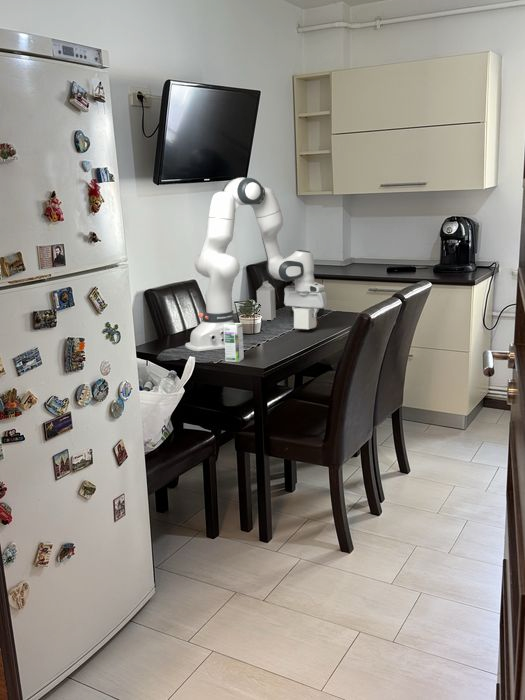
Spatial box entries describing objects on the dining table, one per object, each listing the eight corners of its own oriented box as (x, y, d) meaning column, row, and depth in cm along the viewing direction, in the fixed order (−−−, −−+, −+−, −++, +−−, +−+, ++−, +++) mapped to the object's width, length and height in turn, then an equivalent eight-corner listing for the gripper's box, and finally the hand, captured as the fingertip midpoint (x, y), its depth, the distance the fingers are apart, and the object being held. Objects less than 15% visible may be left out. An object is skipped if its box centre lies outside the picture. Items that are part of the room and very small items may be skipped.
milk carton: (257, 320, 335) (256, 282, 331) (262, 317, 342) (261, 280, 337) (271, 321, 333) (269, 282, 328) (275, 318, 339) (274, 280, 335)
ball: (312, 314, 311) (317, 318, 315) (303, 319, 312) (307, 322, 316) (315, 323, 308) (320, 327, 313) (306, 328, 310) (310, 331, 314)
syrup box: (225, 361, 262) (222, 325, 259) (231, 357, 268) (229, 321, 264) (238, 362, 260) (236, 325, 257) (244, 358, 266) (242, 322, 262)
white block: (308, 329, 302) (308, 309, 300) (293, 328, 306) (293, 308, 304) (316, 326, 308) (316, 307, 306) (301, 325, 312) (301, 306, 310)
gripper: (281, 286, 306) (282, 316, 309) (321, 288, 295) (322, 319, 299) (287, 284, 311) (288, 313, 314) (328, 286, 300) (328, 316, 304)
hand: (305, 316), depth 306 cm, fingers closed on white block, 7 cm apart
